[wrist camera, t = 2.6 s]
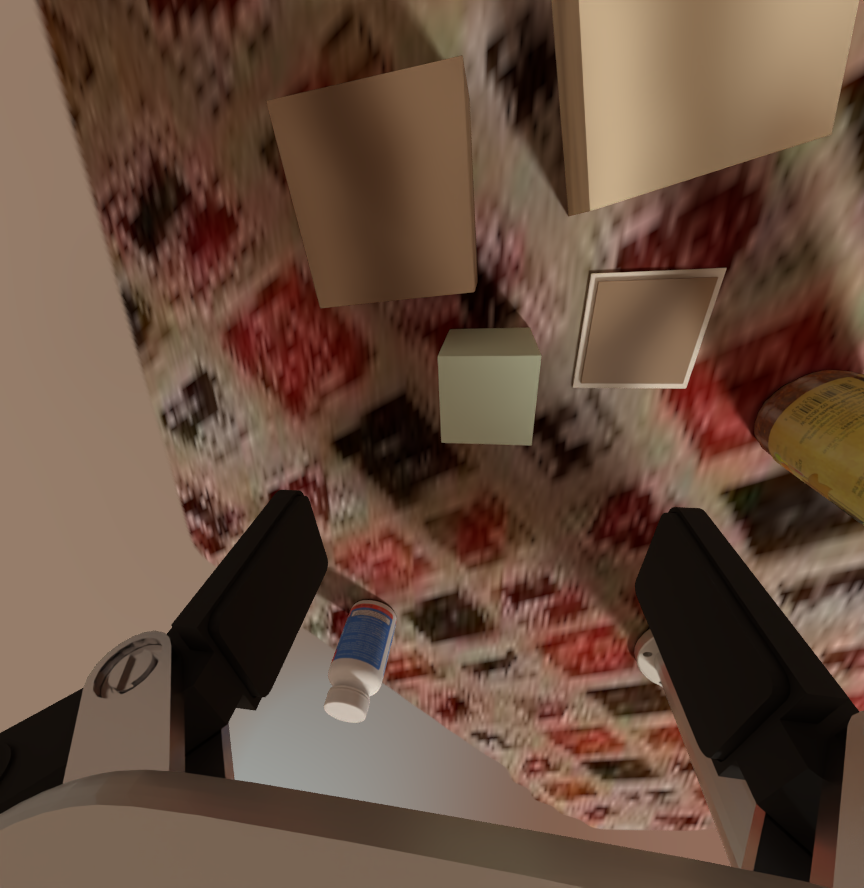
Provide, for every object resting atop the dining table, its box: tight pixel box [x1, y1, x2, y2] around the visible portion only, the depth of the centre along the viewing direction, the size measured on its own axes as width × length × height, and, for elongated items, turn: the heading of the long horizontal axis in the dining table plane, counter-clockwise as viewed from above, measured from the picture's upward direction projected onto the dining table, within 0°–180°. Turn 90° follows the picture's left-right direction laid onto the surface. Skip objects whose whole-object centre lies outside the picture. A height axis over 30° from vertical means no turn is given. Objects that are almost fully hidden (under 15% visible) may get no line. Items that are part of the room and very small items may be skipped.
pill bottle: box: [324, 600, 396, 723], centre depth 36 cm, size 6×5×10 cm
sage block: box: [438, 328, 541, 446], centre depth 21 cm, size 5×5×6 cm
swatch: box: [572, 268, 727, 388], centre depth 21 cm, size 7×7×1 cm
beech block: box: [551, 0, 859, 216], centre depth 14 cm, size 8×8×5 cm
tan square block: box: [266, 56, 478, 308], centre depth 17 cm, size 8×8×5 cm
